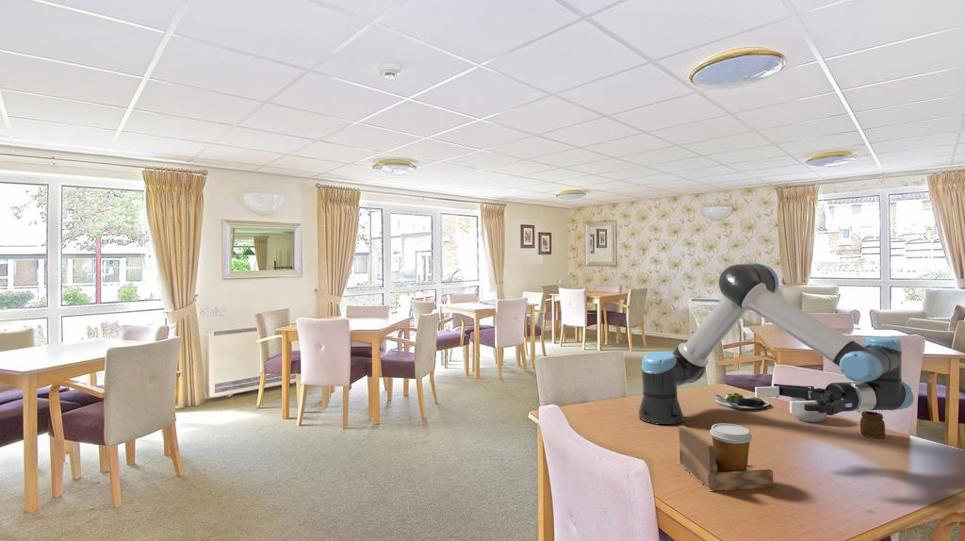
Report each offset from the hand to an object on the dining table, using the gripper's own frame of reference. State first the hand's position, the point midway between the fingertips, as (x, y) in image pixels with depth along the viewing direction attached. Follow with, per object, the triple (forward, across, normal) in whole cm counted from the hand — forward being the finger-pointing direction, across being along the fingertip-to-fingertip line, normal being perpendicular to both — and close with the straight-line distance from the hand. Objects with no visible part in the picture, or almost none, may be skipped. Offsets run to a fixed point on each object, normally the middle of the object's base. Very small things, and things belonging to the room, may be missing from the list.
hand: (772, 399), depth 123 cm
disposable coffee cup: (+14, -4, -18) cm, 23 cm away
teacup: (-39, +38, -19) cm, 58 cm away
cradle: (+15, -2, -19) cm, 24 cm away
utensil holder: (-46, +19, -19) cm, 53 cm away
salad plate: (-27, +56, -20) cm, 66 cm away
